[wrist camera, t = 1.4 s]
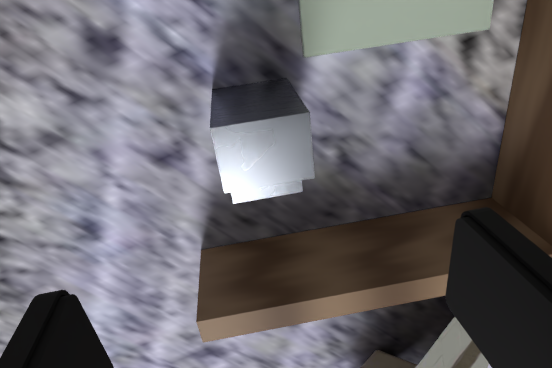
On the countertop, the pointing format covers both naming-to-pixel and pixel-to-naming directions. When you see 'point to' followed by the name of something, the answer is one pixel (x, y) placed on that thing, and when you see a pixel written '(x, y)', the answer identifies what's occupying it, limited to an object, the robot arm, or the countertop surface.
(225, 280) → the wall
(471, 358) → the grey angled piece
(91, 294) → the countertop surface
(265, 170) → the metal block
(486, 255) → the robot arm
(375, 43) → the pad
